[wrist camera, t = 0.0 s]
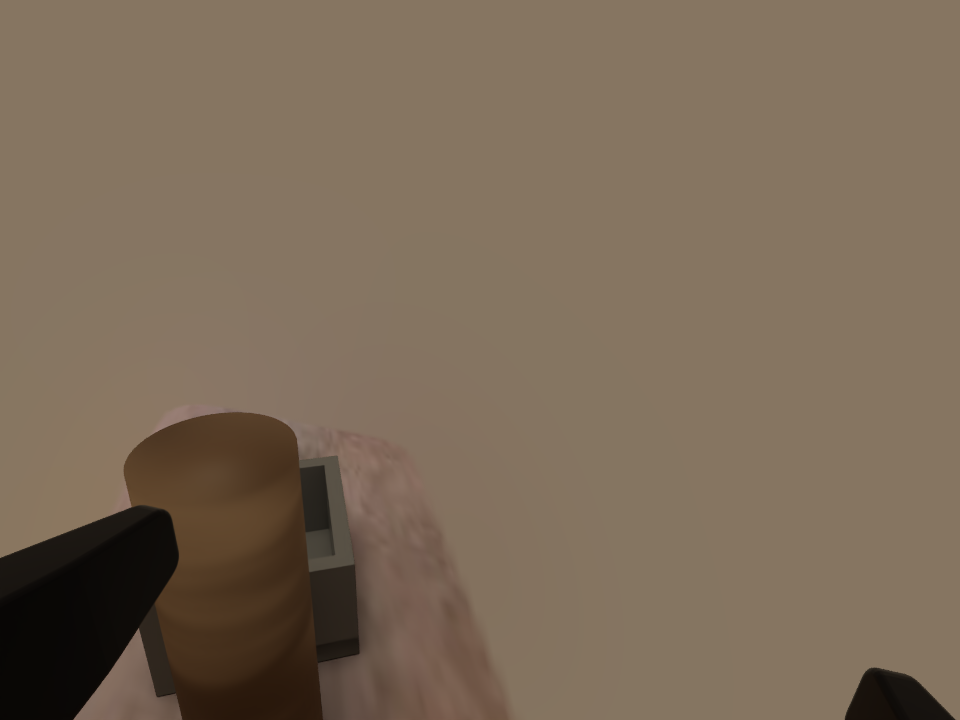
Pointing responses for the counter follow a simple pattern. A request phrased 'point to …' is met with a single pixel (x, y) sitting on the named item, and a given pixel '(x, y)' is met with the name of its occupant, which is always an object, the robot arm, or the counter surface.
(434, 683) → the counter surface
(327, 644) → the socket cup
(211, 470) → the walnut peg
